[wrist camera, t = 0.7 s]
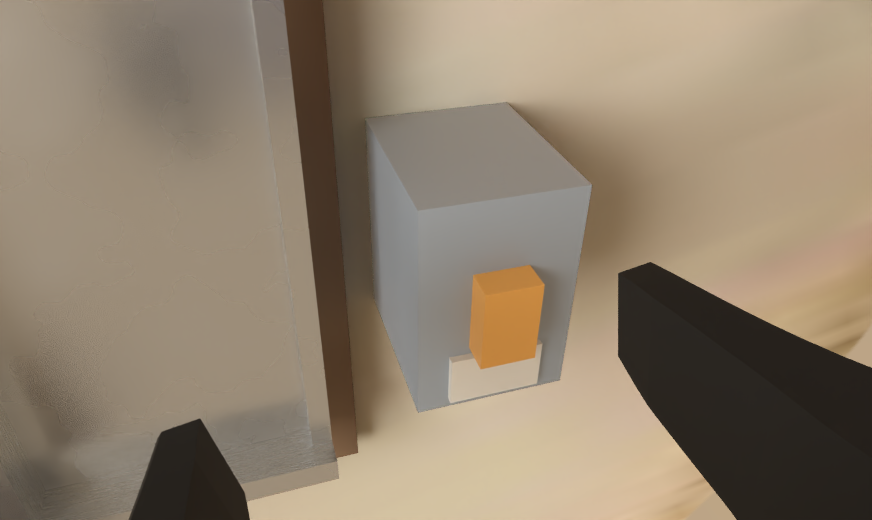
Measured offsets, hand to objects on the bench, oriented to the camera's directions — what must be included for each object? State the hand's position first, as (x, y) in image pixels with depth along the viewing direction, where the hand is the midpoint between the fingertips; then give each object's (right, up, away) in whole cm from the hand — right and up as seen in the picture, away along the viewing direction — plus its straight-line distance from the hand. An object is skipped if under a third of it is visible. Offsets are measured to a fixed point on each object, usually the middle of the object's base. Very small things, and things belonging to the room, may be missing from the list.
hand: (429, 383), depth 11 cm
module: (0, +4, +9) cm, 9 cm away
